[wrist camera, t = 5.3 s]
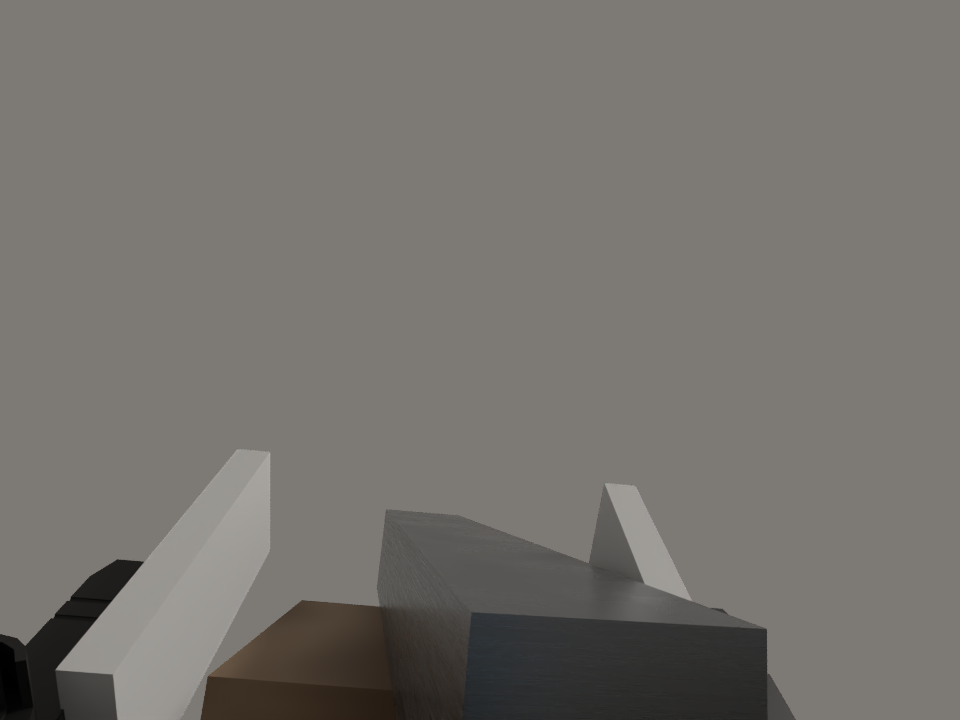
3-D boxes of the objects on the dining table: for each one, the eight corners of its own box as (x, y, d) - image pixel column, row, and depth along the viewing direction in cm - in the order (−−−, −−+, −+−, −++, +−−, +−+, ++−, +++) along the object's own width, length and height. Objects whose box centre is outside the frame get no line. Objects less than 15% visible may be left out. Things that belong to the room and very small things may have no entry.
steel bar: (436, 1003, 6) (470, 612, 7) (376, 586, 29) (386, 509, 30) (770, 986, 7) (766, 629, 7) (451, 591, 30) (458, 515, 30)
